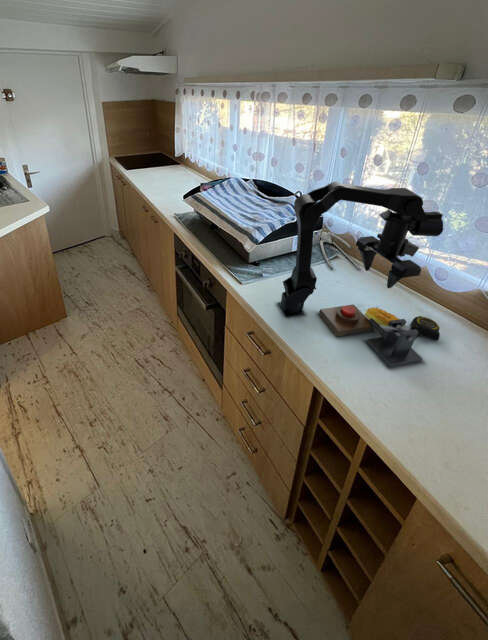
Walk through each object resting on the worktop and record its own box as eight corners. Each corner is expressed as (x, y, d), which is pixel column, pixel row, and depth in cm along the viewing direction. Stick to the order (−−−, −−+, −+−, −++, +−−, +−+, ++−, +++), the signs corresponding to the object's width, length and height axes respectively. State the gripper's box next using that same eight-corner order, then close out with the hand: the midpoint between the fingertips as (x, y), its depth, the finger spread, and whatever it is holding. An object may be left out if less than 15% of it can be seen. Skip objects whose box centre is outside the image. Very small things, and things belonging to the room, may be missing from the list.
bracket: (388, 367, 82) (400, 341, 77) (366, 342, 89) (375, 317, 85) (421, 361, 83) (434, 335, 78) (396, 337, 91) (406, 312, 86)
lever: (379, 337, 78) (384, 330, 77) (366, 323, 82) (371, 316, 81) (410, 341, 81) (415, 335, 80) (395, 328, 86) (400, 321, 85)
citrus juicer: (351, 246, 118) (323, 219, 145) (326, 257, 120) (303, 228, 148) (360, 268, 121) (332, 238, 149) (336, 279, 124) (312, 247, 151)
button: (346, 318, 93) (347, 314, 92) (338, 310, 96) (340, 306, 95) (356, 316, 94) (358, 312, 93) (349, 309, 97) (350, 304, 96)
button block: (337, 336, 91) (340, 326, 90) (318, 314, 100) (321, 304, 98) (372, 331, 93) (376, 321, 91) (351, 309, 102) (354, 300, 100)
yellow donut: (394, 312, 97) (388, 322, 98) (363, 301, 97) (357, 311, 98) (415, 330, 87) (408, 341, 88) (380, 318, 87) (374, 329, 88)
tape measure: (408, 334, 92) (412, 325, 90) (410, 321, 97) (414, 312, 95) (436, 344, 88) (440, 335, 86) (436, 330, 93) (441, 321, 91)
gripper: (448, 247, 79) (426, 294, 87) (392, 217, 95) (377, 259, 103) (412, 251, 77) (392, 299, 85) (361, 220, 93) (348, 263, 101)
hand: (377, 278), depth 93 cm, fingers open, 9 cm apart
